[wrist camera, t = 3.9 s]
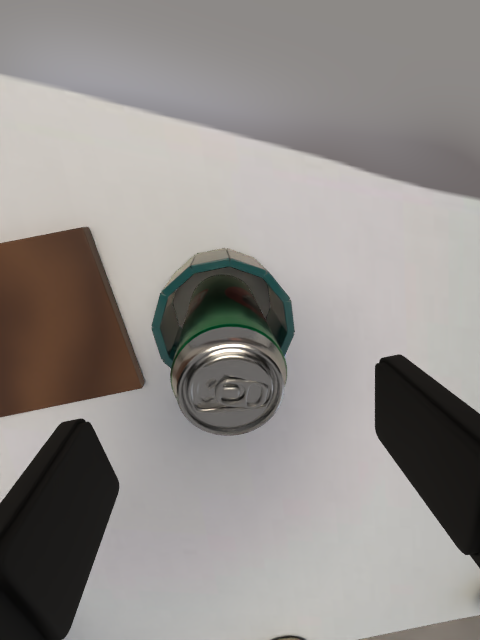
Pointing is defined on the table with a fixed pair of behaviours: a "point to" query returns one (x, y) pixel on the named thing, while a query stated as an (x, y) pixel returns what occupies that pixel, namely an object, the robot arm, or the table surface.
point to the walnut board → (59, 325)
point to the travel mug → (289, 638)
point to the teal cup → (165, 315)
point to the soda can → (227, 360)
